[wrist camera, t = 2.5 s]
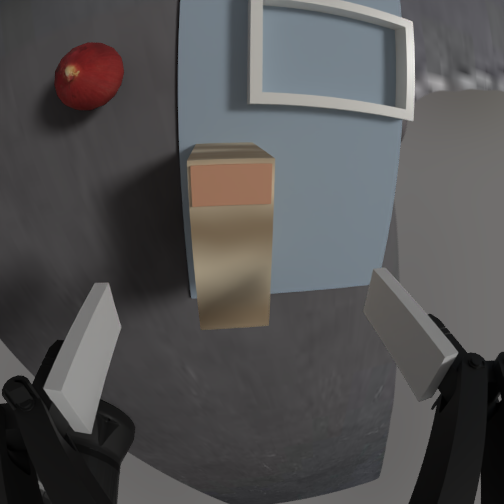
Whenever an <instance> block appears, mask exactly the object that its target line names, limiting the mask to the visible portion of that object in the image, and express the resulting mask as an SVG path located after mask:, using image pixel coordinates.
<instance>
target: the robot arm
mask: <svg viewBox="0 0 504 504" xmlns="http://www.w3.org/2000/svg"><path fill="white" fill-rule="evenodd" d="M363 313H364V314H365V316H366V317H367V319H368V320H369V322H370V323H371V325H372V326H373V328H374V330H375V331H376V333H377V334H378V336H379V337H380V339H381V340H382V342H383V344H384V345H385V347H386V348H387V350H388V352H389V353H390V355H391V356H392V358H393V360H394V361H395V363H396V365H397V366H398V368H399V369H400V371H401V373H402V374H403V376H404V378H405V379H406V381H407V383H408V385H409V386H410V388H411V390H412V391H413V393H414V395H415V396H416V398H417V400H418V401H419V402H420V401H423V400H426V399H428V398H431V397H432V396H433V395H434V393H435V392H436V390H437V389H439V391H440V392H441V394H440V396H439V397H438V399H437V400H436V401H435V403H434V404H433V406H432V408H431V409H432V410H433V409H434V408H435V406H436V405H437V407H436V413H435V417H434V422H433V426H432V430H431V434H430V439H429V442H428V446H427V450H426V454H425V457H424V460H423V464H422V467H421V470H420V473H419V476H418V479H417V482H416V485H415V488H414V491H413V493H412V496H411V499H410V502H409V504H474V500H475V496H476V491H477V487H478V482H479V477H480V471H481V504H504V352H501V353H500V354H499V355H498V357H497V358H496V360H495V361H485V360H484V358H483V357H481V356H480V355H478V354H476V353H467V352H466V351H465V350H464V348H462V346H461V345H460V344H459V342H458V341H457V340H456V339H455V338H454V336H453V335H452V334H450V331H449V330H448V329H447V328H445V326H444V324H443V323H442V322H441V321H440V320H439V319H438V318H436V317H435V316H433V315H432V314H428V315H427V314H426V312H425V311H424V310H423V309H422V308H421V307H420V305H419V304H418V303H417V302H416V301H415V300H414V299H413V297H412V296H410V294H409V293H408V292H407V291H406V290H405V289H404V287H403V286H402V285H401V284H400V283H399V282H398V281H397V280H396V279H395V278H394V277H393V275H392V274H391V273H390V272H389V271H388V270H387V269H386V268H377V269H373V272H372V276H371V281H370V285H369V289H368V293H367V297H366V301H365V305H364V309H363ZM120 329H121V324H120V321H119V318H118V314H117V311H116V308H115V304H114V300H113V297H112V293H111V289H110V286H109V283H95V284H94V285H93V287H92V289H91V291H90V293H89V294H88V296H87V298H86V300H85V302H84V303H83V305H82V307H81V309H80V311H79V313H78V315H77V317H76V319H75V321H74V323H73V324H72V326H71V328H70V330H69V332H68V334H67V337H66V339H65V340H57V341H56V342H55V343H54V344H53V345H52V346H51V347H50V348H49V350H48V352H47V354H46V356H45V358H44V360H43V362H42V365H41V366H40V368H39V370H38V373H37V375H36V377H35V379H34V381H33V384H31V383H30V381H29V380H28V378H26V377H24V376H15V377H12V378H11V379H9V380H8V381H7V382H6V383H5V384H4V386H3V389H2V396H3V397H4V399H5V400H6V401H7V403H6V404H5V403H4V404H0V504H117V497H118V484H119V474H120V465H121V462H122V461H123V459H124V457H125V455H126V454H127V452H128V450H129V448H130V446H131V444H132V443H133V440H134V434H135V426H134V423H133V422H132V420H131V419H130V418H129V417H128V416H127V415H126V414H125V413H123V412H122V411H121V410H119V409H118V408H116V407H114V406H112V405H110V404H108V403H106V402H104V401H102V400H100V397H101V393H102V389H103V385H104V382H105V378H106V375H107V371H108V368H109V364H110V361H111V358H112V354H113V351H114V348H115V345H116V342H117V339H118V336H119V332H120ZM500 394H501V398H502V400H501V401H500V402H499V400H498V397H499V395H500Z"/></svg>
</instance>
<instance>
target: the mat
mask: <svg viewBox="0 0 504 504" xmlns="http://www.w3.org/2000/svg"><path fill="white" fill-rule="evenodd" d="M342 1H347V2H351V3H355V4H359V5H363V6H366V7H370V8H373V9H377V10H380V11H383V12H386V13H390V14H393V15H396V16H398V17H401V6H400V0H342ZM247 59H248V0H180V17H179V43H178V125H179V154H180V175H181V192H182V207H183V220H184V232H185V243H186V254H187V264H188V273H189V283H190V291H191V298H197V291H196V282H195V272H194V261H193V249H192V237H191V224H190V210H189V193H188V174H187V160H188V158H189V156H190V154H191V152H192V150H193V148H194V147H195V145H196V144H206V143H239V142H253V143H254V144H256V145H257V146H258V147H260V148H261V149H263V150H264V151H266V152H267V153H268V154H270V155H271V156H273V157H274V158H275V183H274V215H273V242H272V266H271V288H270V294H273V293H286V292H298V291H310V290H322V289H332V288H343V287H353V286H362V285H370V281H371V276H372V272H373V269H377V268H381V267H382V262H383V257H384V253H385V248H386V243H387V237H388V232H389V227H390V221H391V215H392V209H393V202H394V196H395V189H396V181H397V173H398V164H399V154H400V144H401V131H402V119H397V118H392V117H386V116H380V115H374V114H368V113H361V112H353V111H345V110H337V109H327V108H317V107H304V106H288V105H262V104H247ZM262 92H273V93H292V94H305V95H316V96H326V97H335V98H343V99H350V100H357V101H363V102H369V103H375V104H381V105H386V106H391V107H395V99H396V45H395V30H392V29H389V28H386V27H383V26H379V25H376V24H372V23H368V22H364V21H360V20H356V19H352V18H348V17H343V16H338V15H333V14H328V13H322V12H317V11H310V10H303V9H296V8H287V7H277V6H265V5H263V72H262Z"/></svg>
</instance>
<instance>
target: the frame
mask: <svg viewBox="0 0 504 504" xmlns="http://www.w3.org/2000/svg"><path fill="white" fill-rule="evenodd" d="M263 5H265V6H277V7H287V8H296V9H303V10H310V11H317V12H322V13H328V14H333V15H338V16H343V17H348V18H352V19H356V20H360V21H364V22H368V23H372V24H376V25H379V26H383V27H386V28H389V29H392V30H395V45H396V99H395V107H391V106H386V105H381V104H375V103H369V102H363V101H357V100H350V99H343V98H335V97H326V96H316V95H305V94H292V93H273V92H262V72H263ZM414 94H415V56H414V33H413V22H412V21H410V20H407V19H404V18H401V17H398V16H396V15H393V14H390V13H386V12H383V11H380V10H377V9H373V8H370V7H366V6H363V5H359V4H355V3H351V2H347V1H342V0H248V59H247V104H262V105H288V106H304V107H317V108H327V109H337V110H345V111H353V112H361V113H368V114H374V115H380V116H386V117H392V118H397V119H403V120H410V121H413V117H414Z"/></svg>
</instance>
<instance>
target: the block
mask: <svg viewBox="0 0 504 504" xmlns="http://www.w3.org/2000/svg"><path fill="white" fill-rule="evenodd" d="M187 174H188V193H189V210H190V224H191V237H192V249H193V261H194V272H195V282H196V291H197V301H198V310H199V318H200V327H201V330H208V329H226V328H242V327H255V326H267V325H269V309H270V288H271V266H272V242H273V215H274V183H275V158H274V157H273V156H271V155H270V154H268V153H267V152H266V151H264V150H263V149H261V148H260V147H258V146H257V145H256V144H254V143H253V142H239V143H206V144H196V145H195V147H194V148H193V150H192V152H191V154H190V156H189V158H188V160H187Z"/></svg>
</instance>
